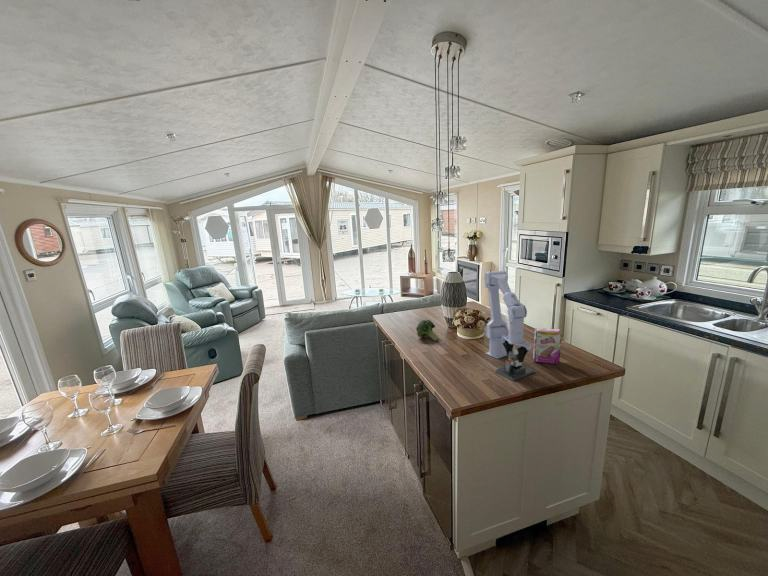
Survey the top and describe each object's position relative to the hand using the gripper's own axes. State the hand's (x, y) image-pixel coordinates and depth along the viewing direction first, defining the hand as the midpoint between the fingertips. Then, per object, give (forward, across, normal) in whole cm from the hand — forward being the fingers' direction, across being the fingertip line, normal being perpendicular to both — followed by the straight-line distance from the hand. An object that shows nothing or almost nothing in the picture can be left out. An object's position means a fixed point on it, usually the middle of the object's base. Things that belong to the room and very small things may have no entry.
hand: (515, 359), depth 143 cm
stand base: (+6, 0, 0) cm, 6 cm away
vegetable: (+7, -58, -7) cm, 59 cm away
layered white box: (+2, 0, 0) cm, 2 cm away
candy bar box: (+7, +1, +21) cm, 22 cm away
